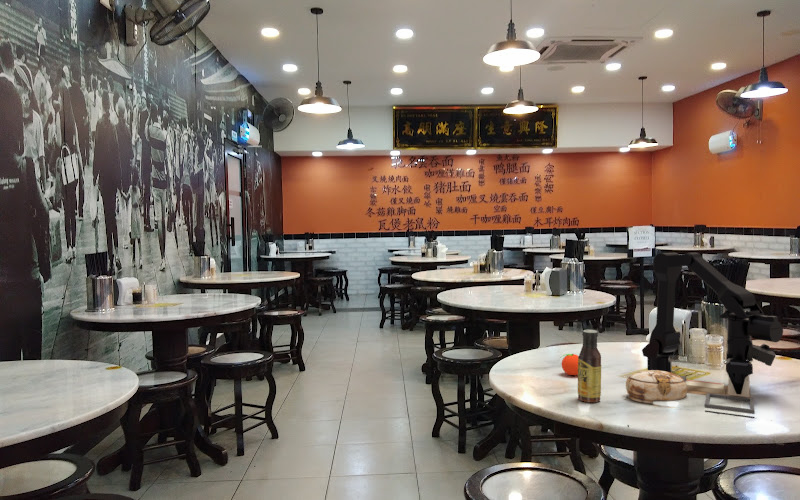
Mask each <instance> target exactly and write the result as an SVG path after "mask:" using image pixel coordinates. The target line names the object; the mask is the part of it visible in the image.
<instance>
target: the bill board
mask: <svg viewBox="0 0 800 500" xmlns="http://www.w3.org/2000/svg"><path fill="white" fill-rule="evenodd" d="M679 376H680V377H681V378H683V380H684V382H685V383H686V385H687V394H691V395H700V396H706V394H707V393H712V394H720V395H728V385H725V383H722V382H714V381H705V380H697V379H696V380H694V379H688V378H687V376H685V375H679ZM729 396H735V395H729ZM737 397H743V396H737ZM746 398H752V397H751V388H749V397H746Z"/></svg>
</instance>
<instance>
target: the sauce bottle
mask: <svg viewBox="0 0 800 500" xmlns="http://www.w3.org/2000/svg"><path fill="white" fill-rule="evenodd" d="M598 336H599V332H598V330H595V329H584V330H582V347H581V348H580V352H579V355H578V356H579V357H578V375H577V398H578V400H579V401H581V402H583V401H584V403H590V404H591V403H592V404H593V403H599V402H600V401H601V395H602V355H601V353H600V351H599V350H598Z"/></svg>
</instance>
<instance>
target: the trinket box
mask: <svg viewBox="0 0 800 500" xmlns="http://www.w3.org/2000/svg"><path fill="white" fill-rule="evenodd" d="M680 376H681V375H678V374H677V373H673V372H671V373H670V372H666V371H659V370H641V371H637V372H635V373H633V374H632V375H630V376H628V377H627V379H626V381H625V390H626V392H627V393H626V394H628V398H629V399H631V400H633V401H636V402H640V403H645V404H653V403H654V401H676V400H682V399H684V398H685V397H686V396H687V394H688V393H687V385H686V383H685V382H684V380H683V378H681V377H680Z"/></svg>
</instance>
